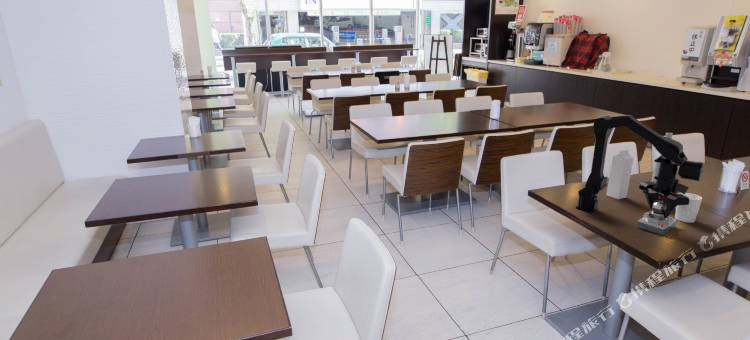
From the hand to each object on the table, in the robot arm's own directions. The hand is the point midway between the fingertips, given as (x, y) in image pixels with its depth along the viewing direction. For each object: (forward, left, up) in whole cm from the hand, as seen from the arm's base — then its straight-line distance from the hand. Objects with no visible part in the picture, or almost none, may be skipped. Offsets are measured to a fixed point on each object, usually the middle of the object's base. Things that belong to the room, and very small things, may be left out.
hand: (658, 214), depth 168 cm
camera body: (0, 0, -6) cm, 6 cm away
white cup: (+4, +17, -6) cm, 18 cm away
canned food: (-7, +25, -6) cm, 27 cm away
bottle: (-16, +44, -6) cm, 47 cm away
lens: (0, 0, -2) cm, 2 cm away
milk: (-25, +22, -6) cm, 34 cm away
